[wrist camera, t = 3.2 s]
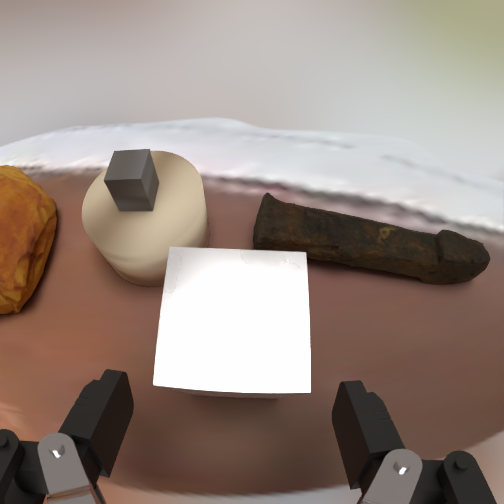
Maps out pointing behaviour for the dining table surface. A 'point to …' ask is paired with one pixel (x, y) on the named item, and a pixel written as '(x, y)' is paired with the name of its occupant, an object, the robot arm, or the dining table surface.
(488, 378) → the dining table surface
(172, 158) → the cream rounded block
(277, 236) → the hand tool
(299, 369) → the light grey block
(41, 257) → the croissant
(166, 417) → the dining table surface
